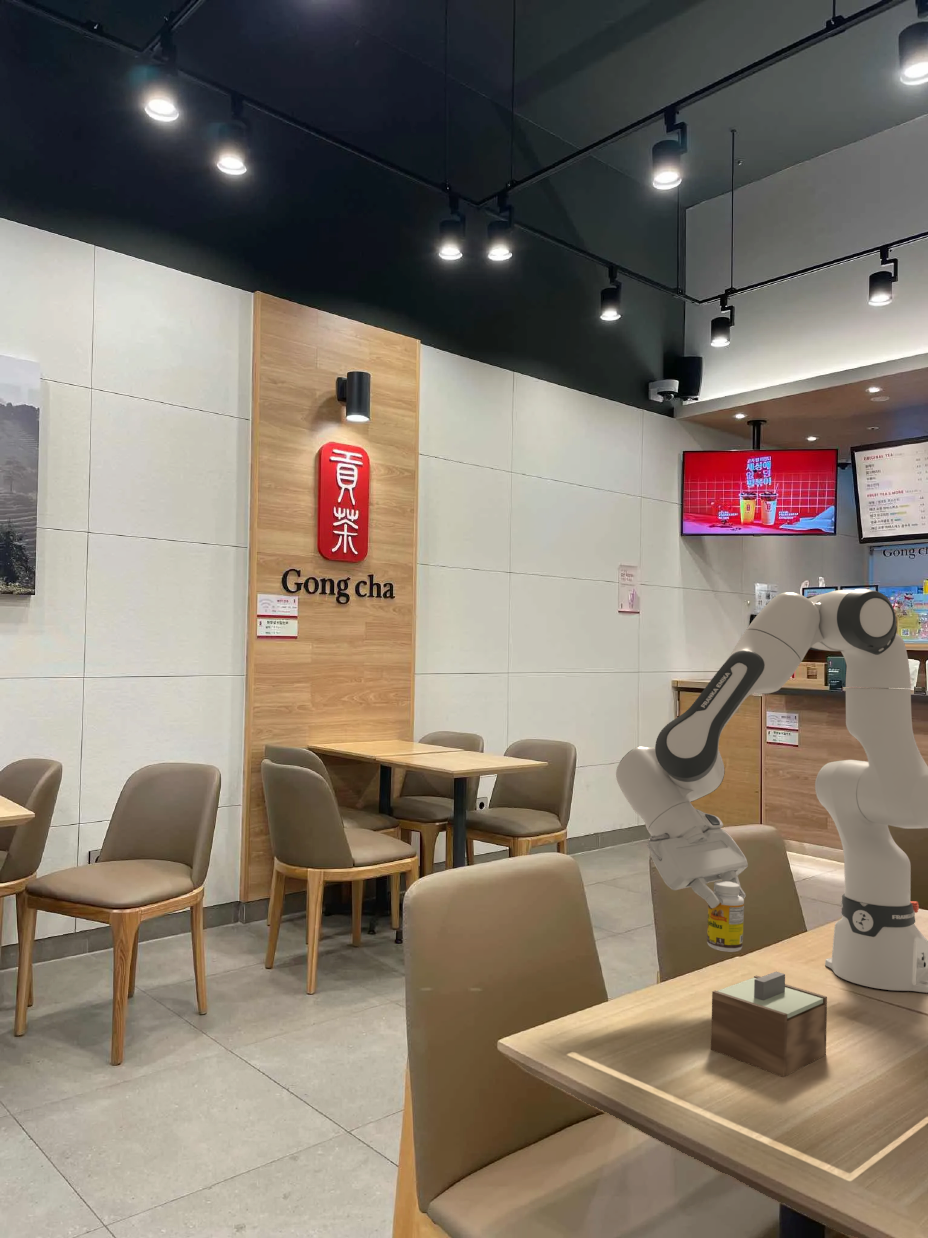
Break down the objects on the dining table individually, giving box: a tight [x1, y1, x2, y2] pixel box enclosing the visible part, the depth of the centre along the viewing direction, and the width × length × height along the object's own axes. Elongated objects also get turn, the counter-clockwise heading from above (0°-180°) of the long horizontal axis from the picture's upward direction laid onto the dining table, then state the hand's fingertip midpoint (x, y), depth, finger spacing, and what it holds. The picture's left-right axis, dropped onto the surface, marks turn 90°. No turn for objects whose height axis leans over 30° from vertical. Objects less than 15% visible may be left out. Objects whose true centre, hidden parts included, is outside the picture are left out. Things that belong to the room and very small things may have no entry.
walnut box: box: [710, 975, 828, 1078], centre depth 128 cm, size 12×11×9 cm
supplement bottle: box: [706, 880, 745, 953], centre depth 147 cm, size 6×6×10 cm
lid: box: [717, 971, 823, 1019], centre depth 129 cm, size 10×11×3 cm
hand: (729, 902), depth 146 cm, fingers closed on supplement bottle, 5 cm apart
